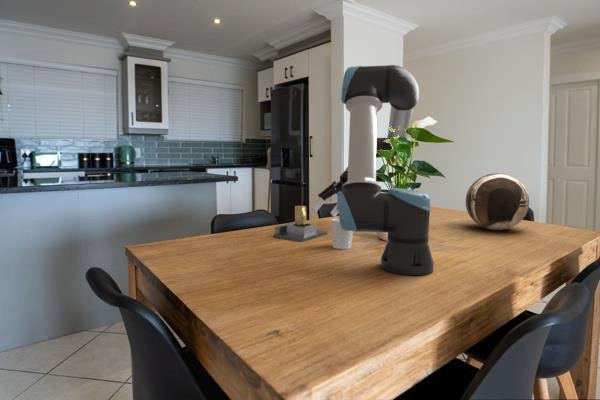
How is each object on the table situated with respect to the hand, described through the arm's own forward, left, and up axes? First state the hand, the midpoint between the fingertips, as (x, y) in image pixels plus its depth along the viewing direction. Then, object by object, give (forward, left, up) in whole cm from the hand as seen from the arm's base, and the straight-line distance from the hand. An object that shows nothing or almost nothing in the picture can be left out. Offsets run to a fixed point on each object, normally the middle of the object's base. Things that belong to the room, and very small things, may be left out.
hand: (322, 213), depth 163 cm
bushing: (-10, +4, -7) cm, 13 cm away
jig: (-9, +5, -9) cm, 13 cm away
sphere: (+53, -57, -9) cm, 79 cm away
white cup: (-16, -18, -9) cm, 26 cm away
